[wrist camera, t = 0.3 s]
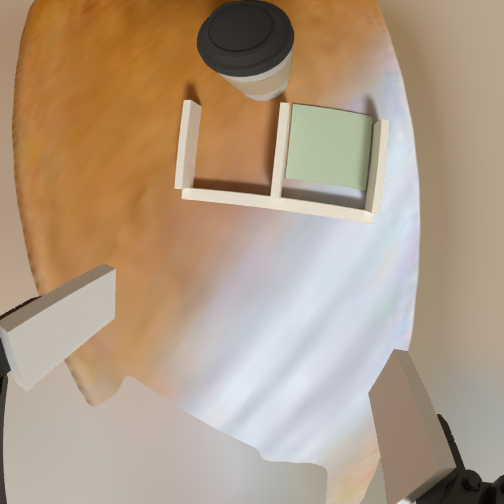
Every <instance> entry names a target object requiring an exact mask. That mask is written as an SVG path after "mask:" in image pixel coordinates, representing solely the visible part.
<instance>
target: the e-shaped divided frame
mask: <svg viewBox="0 0 504 504" xmlns="http://www.w3.org/2000/svg"><path fill="white" fill-rule="evenodd" d="M201 110H202V107H201V106H200V105H198V104H197V103H195V102H194V101H192V100H184V103H183V111H182V118H181V126H180V135H179V144H178V154H177V165H176V177H175V189H182V199H189V200H199V201H209V202H219V203H228V204H237V205H245V206H254V207H262V208H270V209H277V210H285V211H292V212H299V213H306V214H313V215H320V216H326V217H333V218H339V219H346V220H352V221H358V222H364V223H369V224H372V222H373V216H374V214H378V215H379V213H380V207H381V200H382V193H383V185H384V177H385V169H386V159H387V148H388V135H389V120H386V119H380V120H379V121H377V122H376V123H375V124H374V126H373V140H372V151H371V161H370V170H369V179H368V187H367V194H366V201H365V208H364V210H363V209H357V208H351V207H345V206H339V205H333V204H327V203H320V202H313V201H306V200H299V199H292V198H284V197H281V195H282V186H283V178H284V169H285V160H286V150H287V141H288V131H289V121H290V106H289V103H281V102H280V112H279V122H278V131H277V141H276V150H275V159H274V169H273V178H272V187H271V196H269V195H260V194H252V193H243V192H233V191H223V190H213V189H202V188H193V187H194V175H195V164H196V154H197V144H198V135H199V126H200V118H201Z"/></svg>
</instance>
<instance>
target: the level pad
mask: <svg viewBox="0 0 504 504" xmlns="http://www.w3.org/2000/svg"><path fill="white" fill-rule="evenodd" d="M372 119H373V117H372V116H367V115H362V114H357V113H352V112H347V111H341V110H335V109H329V108H322V107H315V106H307V105H298V104H293V110H292V120H291V130H290V140H289V149H288V158H287V168H286V177H285V178H288V179H295V180H303V181H310V182H317V183H324V184H330V185H336V186H342V187H348V188H354V189H360V190H366V183H367V175H368V166H369V156H370V146H371V133H372Z"/></svg>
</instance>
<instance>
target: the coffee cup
mask: <svg viewBox="0 0 504 504" xmlns="http://www.w3.org/2000/svg"><path fill="white" fill-rule="evenodd" d="M293 43H294V31H293V27H292V25H291V22H290V20H289V18H288V16H287V15H286V14H285V12H284V11H283V10H281V9H280V8H279V7H277V6H275V5H273V4H271V3H268V2H264V1H258V0H245V1H234V2H228V3H226V4H223V5H221V6H220V7H218V8H217V9H215V10H214V11H213V12H212V14H211V15H210V16H209V17H208V18H207V19H206V21H205V22H204V23H203V25H202V26H201V28H200V30H199V33H198V37H197V48H198V51H199V54H200V55H201V57H202V59H203V60H204V62H205V63H206V64H207V65H208V66H209V67H210V68H211V69H213V70H214V71H216V72H217V73H218V74H220V75H221V76H222V77H223V78H224V79H226V80H227V81H228V82H229V83H230V84H231V85H233V86H234V87H235V88H236V89H237V90H239V91H241V92H242V93H243V94H244V95H246V96H247V97H249V98H251V99H253V100H258V101H266V100H271V99H273V98H276V97H277V96H279V95H280V94H281V93H283V91H284V90H285V89H286V87H287V85H288V82H289V75H290V72H291V64H292V54H293Z"/></svg>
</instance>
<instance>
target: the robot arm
mask: <svg viewBox="0 0 504 504" xmlns="http://www.w3.org/2000/svg"><path fill="white" fill-rule="evenodd" d="M115 279H116V268H113V267H110V266H108V265H105V264H103V265H101V266H99V267H97V268H95V269H93V270H91V271H89V272H87V273H85V274H83V275H81V276H79V277H77V278H75V279H73V280H71V281H69V282H68V283H66V284H64V285H62V286H60V287H58V288H56V289H54V290H53V291H51V292H49V293H47V294H45V295H43V296H39V297H35V298H31V299H29V300H28V301H26V302H24V303H22V305H21V304H20V305H19V306H17V307H16V308H15V309H14V308H13V309H12V310H10V311H8V312H6V313H4V314H3V315H1V316H0V504H7V501H6V494H5V483H4V470H3V425H4V410H5V400H6V390H7V384H8V377H7V373H8V372H9V371H11V372H12V375H13V378H14V380H15V382H16V383H17V384H18V385H20V386H21V387H22V388H23V389H24V390H25V391H26V392H27V391H28V390H30V389H31V388H32V387H33V386H34V385H35V384H36V383H38V382H39V381H40V380H41V379H42V378H43V377H44V376H46V375H47V374H48V373H49V372H50V371H51V370H52V369H54V368H55V367H56V366H57V365H58V364H60V363H61V362H62V361H63V360H64V359H65V358H67V357H68V356H69V355H70V354H71V353H73V352H74V351H75V350H76V349H77V348H79V347H80V346H81V345H82V344H83V343H85V342H86V341H87V340H88V339H89V338H91V337H92V336H93V335H94V334H96V333H97V332H98V331H99V330H100V329H102V328H103V327H104V326H105V325H107V324H108V323H109V322H110V321H111V320H113V319H114V318H115ZM368 394H369V398H370V403H371V408H372V413H373V417H374V422H375V428H376V433H377V438H378V444H379V450H380V456H381V462H382V468H383V475H384V481H385V489H386V498H387V504H411V503H413V502H414V501H416V504H504V475H502V476H500V477H499V478H498V479H497V480H496V481H495V482H494V483H488V482H482V479H481V478H480V476H479V475H478V474H477V473H476V472H475V471H472V470H465V467H464V464H463V461H462V459H461V456H460V453H459V450H458V448H457V445H456V443H455V442H454V438H453V436H452V435H451V431H450V428H449V426H448V423H447V422H446V421H445V420H444V418H443V417H442V416H441V415H440V414H436V412H435V410H434V407H433V405H432V402H431V400H430V398H429V396H428V393H427V391H426V389H425V387H424V384H423V383H422V380H421V378H420V376H419V374H418V372H417V370H416V367H415V365H414V363H413V361H412V359H411V357H410V355H409V353H408V351H403V350H397V349H394V350H393V352H392V354H391V355H390V357H389V359H388V361H387V363H386V364H385V366H384V368H383V370H382V371H381V373H380V375H379V377H378V378H377V380H376V382H375V383H374V385H373V386H372V388H371V390H370V391H369V393H368Z"/></svg>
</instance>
